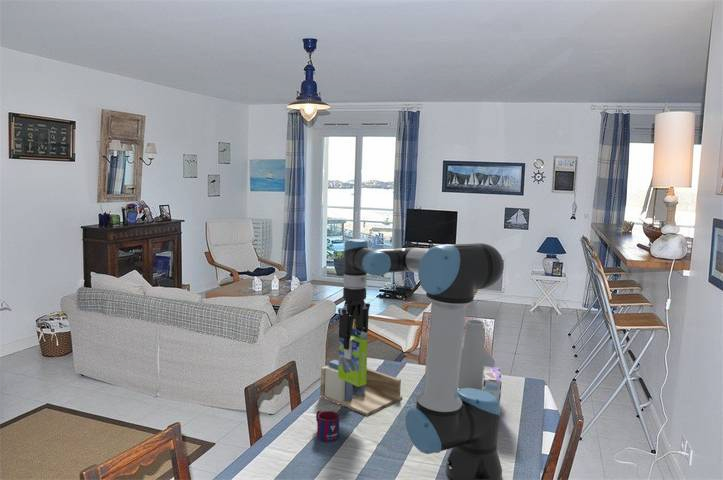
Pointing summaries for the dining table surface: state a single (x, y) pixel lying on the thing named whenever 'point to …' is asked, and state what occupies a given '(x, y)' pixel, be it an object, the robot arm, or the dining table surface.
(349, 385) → the shelved books
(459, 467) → the robot arm
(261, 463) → the dining table surface
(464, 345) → the vase
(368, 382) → the shelf
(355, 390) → the bookend
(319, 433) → the mug
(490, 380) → the candy box
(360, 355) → the box
